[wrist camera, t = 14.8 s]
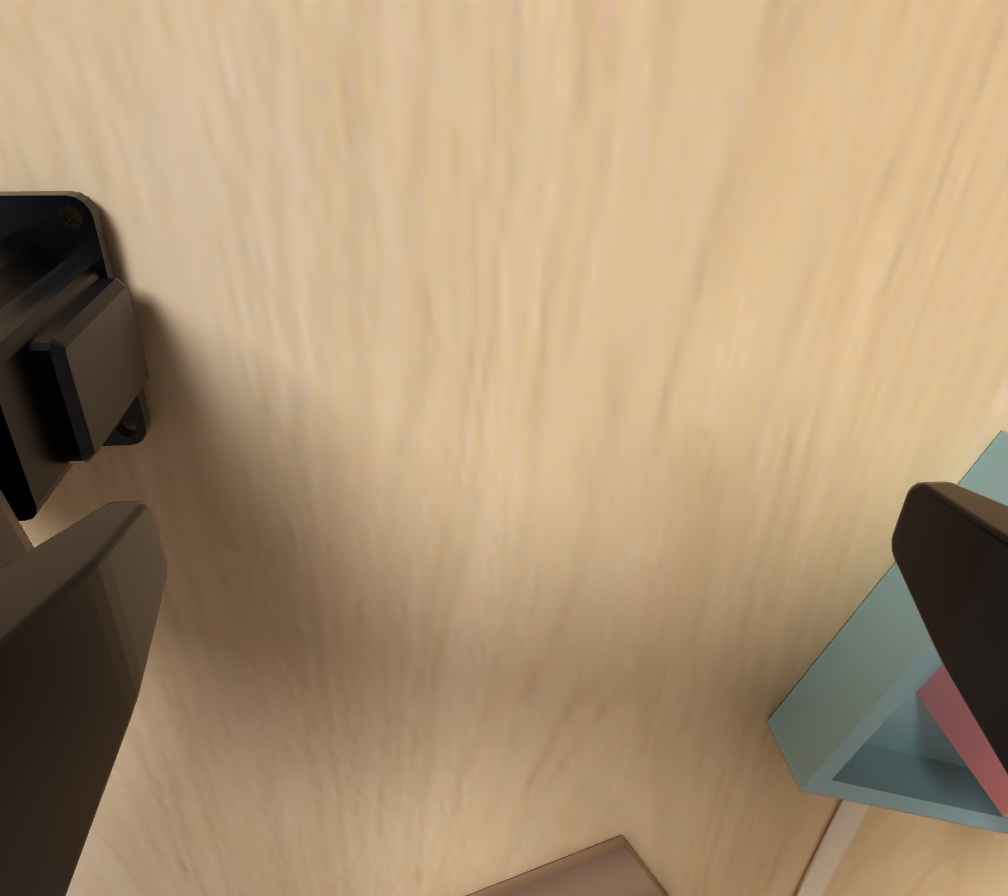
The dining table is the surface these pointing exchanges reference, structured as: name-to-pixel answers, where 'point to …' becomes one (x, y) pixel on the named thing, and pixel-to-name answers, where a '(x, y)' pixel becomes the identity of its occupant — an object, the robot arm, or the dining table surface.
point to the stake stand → (585, 875)
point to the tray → (886, 704)
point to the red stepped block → (965, 735)
